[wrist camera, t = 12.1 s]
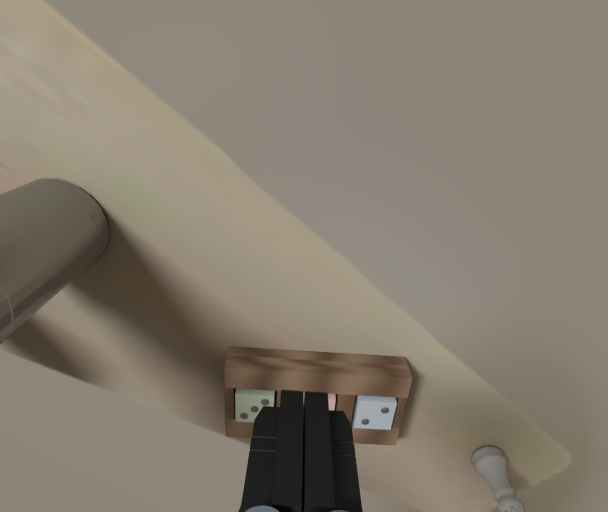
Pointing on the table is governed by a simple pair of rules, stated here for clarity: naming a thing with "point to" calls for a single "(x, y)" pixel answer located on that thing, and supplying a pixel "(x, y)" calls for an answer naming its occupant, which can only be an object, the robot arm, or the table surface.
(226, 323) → the table surface
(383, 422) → the two-pip button
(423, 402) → the table surface
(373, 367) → the button panel
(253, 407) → the three-pip button
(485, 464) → the rook chess piece
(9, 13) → the table surface
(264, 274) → the table surface
